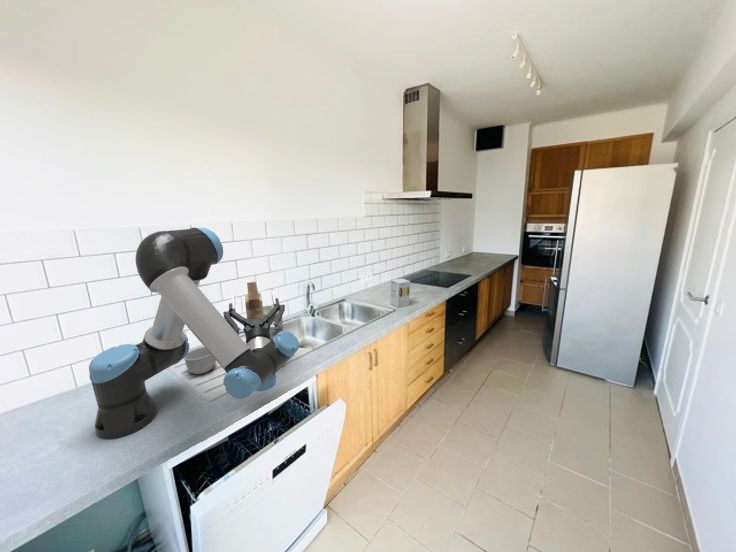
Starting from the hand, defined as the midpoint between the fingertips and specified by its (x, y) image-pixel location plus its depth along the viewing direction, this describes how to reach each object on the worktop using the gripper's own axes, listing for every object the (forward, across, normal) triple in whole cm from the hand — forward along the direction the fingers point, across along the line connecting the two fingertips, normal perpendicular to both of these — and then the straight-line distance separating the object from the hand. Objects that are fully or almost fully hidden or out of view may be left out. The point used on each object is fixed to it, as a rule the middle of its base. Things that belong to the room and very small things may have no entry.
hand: (253, 295), depth 110 cm
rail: (+4, 0, -6) cm, 7 cm away
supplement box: (+28, +91, -55) cm, 110 cm away
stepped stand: (-10, +3, -32) cm, 34 cm away
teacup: (-5, -21, -36) cm, 42 cm away
